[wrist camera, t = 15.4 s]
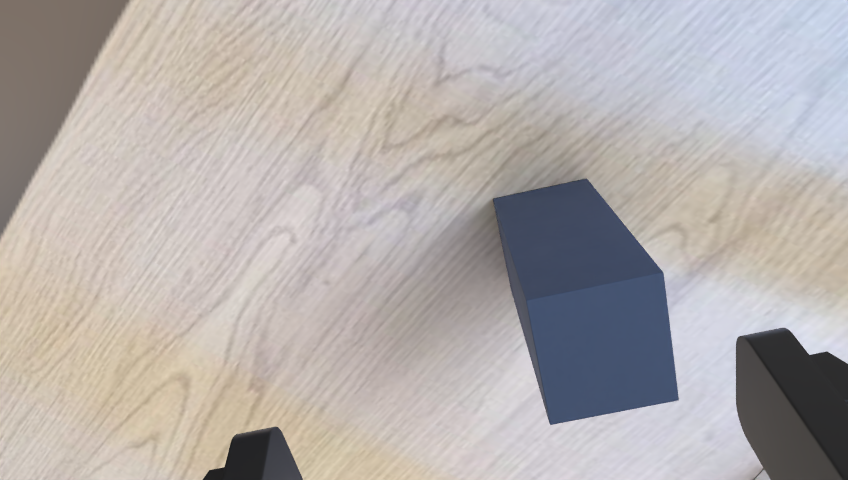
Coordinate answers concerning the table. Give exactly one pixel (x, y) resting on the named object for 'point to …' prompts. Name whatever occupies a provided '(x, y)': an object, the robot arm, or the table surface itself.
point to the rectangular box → (586, 303)
